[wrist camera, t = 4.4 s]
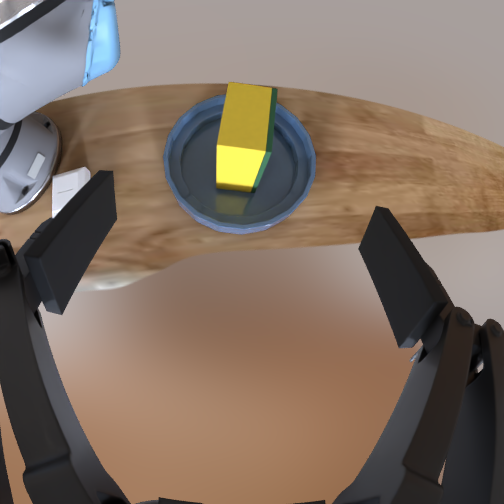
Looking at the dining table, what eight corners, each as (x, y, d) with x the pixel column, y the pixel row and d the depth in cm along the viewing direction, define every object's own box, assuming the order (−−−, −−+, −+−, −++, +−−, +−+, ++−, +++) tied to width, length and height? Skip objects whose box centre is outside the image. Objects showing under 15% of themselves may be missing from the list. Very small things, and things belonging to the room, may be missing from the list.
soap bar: (90, 171, 32) (82, 164, 30) (93, 240, 31) (84, 236, 29) (59, 180, 31) (49, 173, 29) (60, 247, 31) (50, 244, 28)
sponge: (216, 188, 33) (216, 145, 22) (224, 136, 34) (228, 81, 23) (254, 193, 34) (271, 152, 23) (260, 141, 35) (277, 88, 24)
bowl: (157, 225, 32) (150, 218, 29) (183, 102, 35) (181, 87, 31) (302, 243, 34) (311, 238, 31) (308, 120, 36) (316, 106, 33)
